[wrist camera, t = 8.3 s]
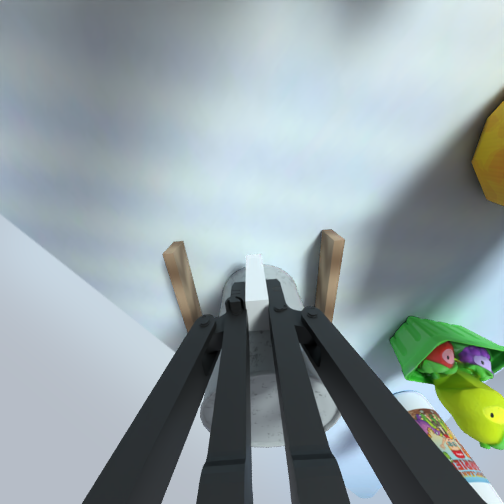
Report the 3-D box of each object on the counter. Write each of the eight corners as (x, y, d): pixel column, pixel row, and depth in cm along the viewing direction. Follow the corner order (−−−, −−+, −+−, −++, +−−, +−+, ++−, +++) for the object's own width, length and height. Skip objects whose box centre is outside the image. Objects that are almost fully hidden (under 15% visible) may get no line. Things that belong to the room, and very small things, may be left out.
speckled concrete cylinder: (241, 332, 26) (237, 456, 15) (208, 281, 22) (170, 399, 11) (306, 310, 25) (354, 431, 14) (283, 252, 21) (324, 354, 10)
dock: (173, 241, 20) (157, 259, 16) (331, 229, 20) (350, 244, 16) (203, 347, 27) (197, 375, 24) (318, 339, 27) (329, 366, 23)
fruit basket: (474, 320, 26) (618, 419, 16) (433, 359, 30) (529, 460, 20) (406, 306, 25) (517, 405, 15) (372, 349, 29) (441, 452, 18)
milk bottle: (416, 409, 37) (578, 646, 19) (377, 412, 37) (501, 650, 19) (428, 387, 33) (640, 649, 15) (385, 391, 34) (545, 654, 16)
